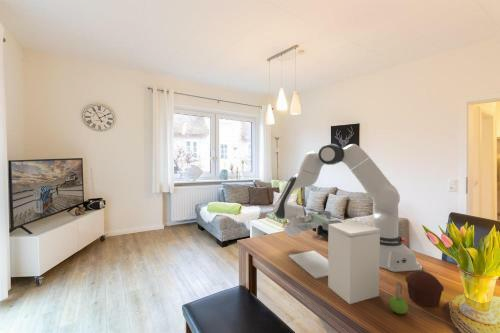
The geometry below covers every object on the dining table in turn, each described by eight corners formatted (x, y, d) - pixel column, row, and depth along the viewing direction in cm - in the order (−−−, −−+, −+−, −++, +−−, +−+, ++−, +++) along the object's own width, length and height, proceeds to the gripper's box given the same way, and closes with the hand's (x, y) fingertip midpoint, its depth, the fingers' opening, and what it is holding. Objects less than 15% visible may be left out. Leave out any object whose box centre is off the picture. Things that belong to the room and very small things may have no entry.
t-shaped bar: (303, 219, 117) (303, 213, 117) (317, 217, 120) (317, 212, 120) (326, 230, 100) (327, 223, 100) (342, 228, 103) (342, 221, 103)
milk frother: (322, 230, 166) (322, 209, 166) (342, 236, 154) (343, 213, 153) (309, 234, 157) (309, 213, 157) (330, 241, 145) (330, 217, 144)
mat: (288, 256, 125) (288, 255, 125) (314, 251, 130) (314, 250, 130) (315, 278, 102) (315, 277, 102) (345, 272, 108) (345, 270, 108)
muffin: (401, 289, 94) (401, 264, 93) (434, 293, 91) (434, 268, 90) (411, 307, 83) (412, 280, 82) (449, 313, 79) (450, 285, 79)
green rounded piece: (388, 315, 79) (388, 281, 78) (389, 305, 84) (390, 272, 83) (407, 321, 76) (408, 285, 75) (407, 310, 81) (408, 277, 80)
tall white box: (328, 286, 96) (328, 224, 95) (355, 280, 101) (355, 220, 100) (349, 304, 85) (350, 233, 83) (378, 295, 90) (380, 228, 88)
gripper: (283, 219, 124) (295, 212, 112) (316, 216, 131) (330, 208, 119) (286, 232, 121) (298, 225, 110) (319, 227, 128) (334, 221, 117)
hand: (315, 216), depth 114 cm, fingers closed on t-shaped bar, 3 cm apart
